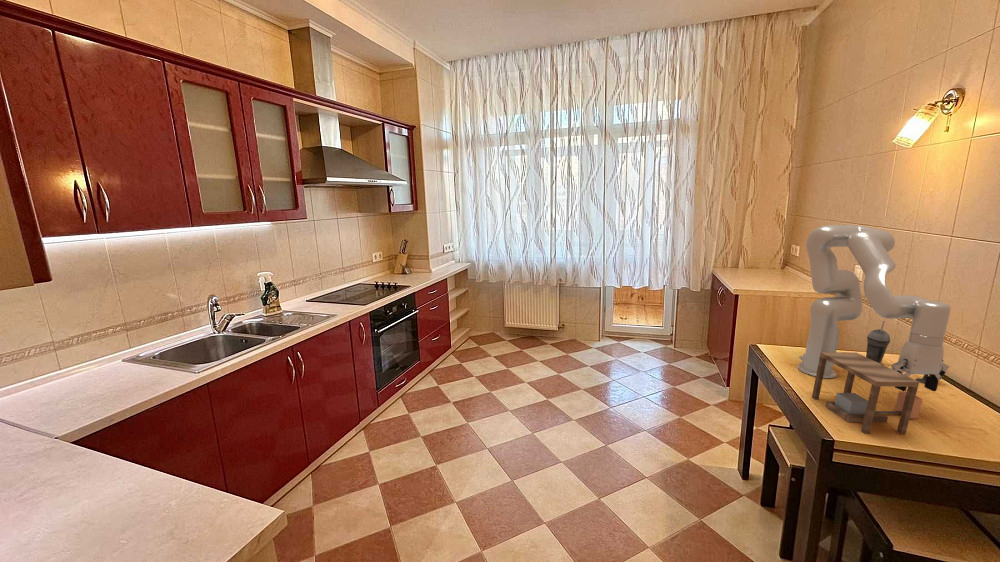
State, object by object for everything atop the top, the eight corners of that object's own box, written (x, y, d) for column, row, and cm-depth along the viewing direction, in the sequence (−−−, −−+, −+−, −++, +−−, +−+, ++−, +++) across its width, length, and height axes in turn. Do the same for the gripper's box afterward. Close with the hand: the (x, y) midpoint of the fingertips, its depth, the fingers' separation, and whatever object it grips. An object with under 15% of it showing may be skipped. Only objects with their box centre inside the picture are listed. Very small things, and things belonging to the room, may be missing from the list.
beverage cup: (880, 362, 174) (890, 318, 170) (887, 369, 168) (898, 323, 163) (858, 359, 177) (868, 316, 173) (865, 365, 171) (875, 321, 166)
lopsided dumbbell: (833, 408, 137) (837, 390, 135) (901, 409, 137) (906, 390, 135) (848, 418, 131) (852, 399, 130) (919, 419, 131) (924, 399, 129)
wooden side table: (811, 397, 145) (820, 352, 141) (846, 397, 145) (856, 352, 141) (864, 433, 123) (876, 381, 120) (905, 434, 123) (919, 382, 119)
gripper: (940, 335, 131) (929, 384, 135) (887, 335, 131) (877, 384, 135) (966, 343, 124) (954, 394, 127) (909, 343, 124) (899, 394, 127)
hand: (915, 389), depth 131 cm, fingers open, 9 cm apart
